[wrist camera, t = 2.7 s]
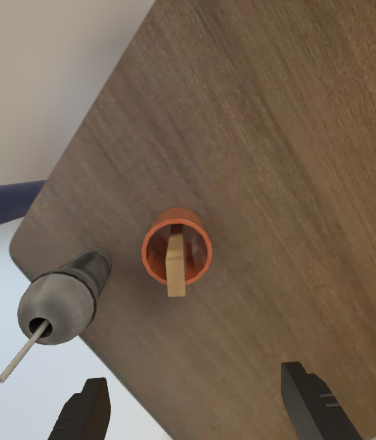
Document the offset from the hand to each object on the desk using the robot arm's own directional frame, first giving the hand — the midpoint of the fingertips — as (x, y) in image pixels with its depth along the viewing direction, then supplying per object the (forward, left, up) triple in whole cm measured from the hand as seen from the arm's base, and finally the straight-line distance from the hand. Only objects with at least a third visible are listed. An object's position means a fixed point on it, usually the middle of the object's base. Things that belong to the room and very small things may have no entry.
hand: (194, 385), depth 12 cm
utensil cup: (-1, 0, -26) cm, 26 cm away
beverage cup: (-13, -4, -26) cm, 30 cm away
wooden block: (-1, 0, -26) cm, 26 cm away
